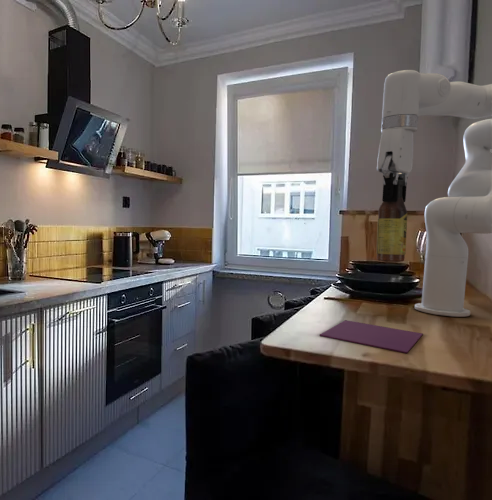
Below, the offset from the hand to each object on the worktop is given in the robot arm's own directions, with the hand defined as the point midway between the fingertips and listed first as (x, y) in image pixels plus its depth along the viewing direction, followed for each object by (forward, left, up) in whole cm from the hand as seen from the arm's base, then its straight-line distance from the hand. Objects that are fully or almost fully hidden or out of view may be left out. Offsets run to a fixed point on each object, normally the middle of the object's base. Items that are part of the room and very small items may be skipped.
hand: (393, 201), depth 103 cm
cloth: (+18, +4, -30) cm, 35 cm away
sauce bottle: (0, 0, -15) cm, 15 cm away
